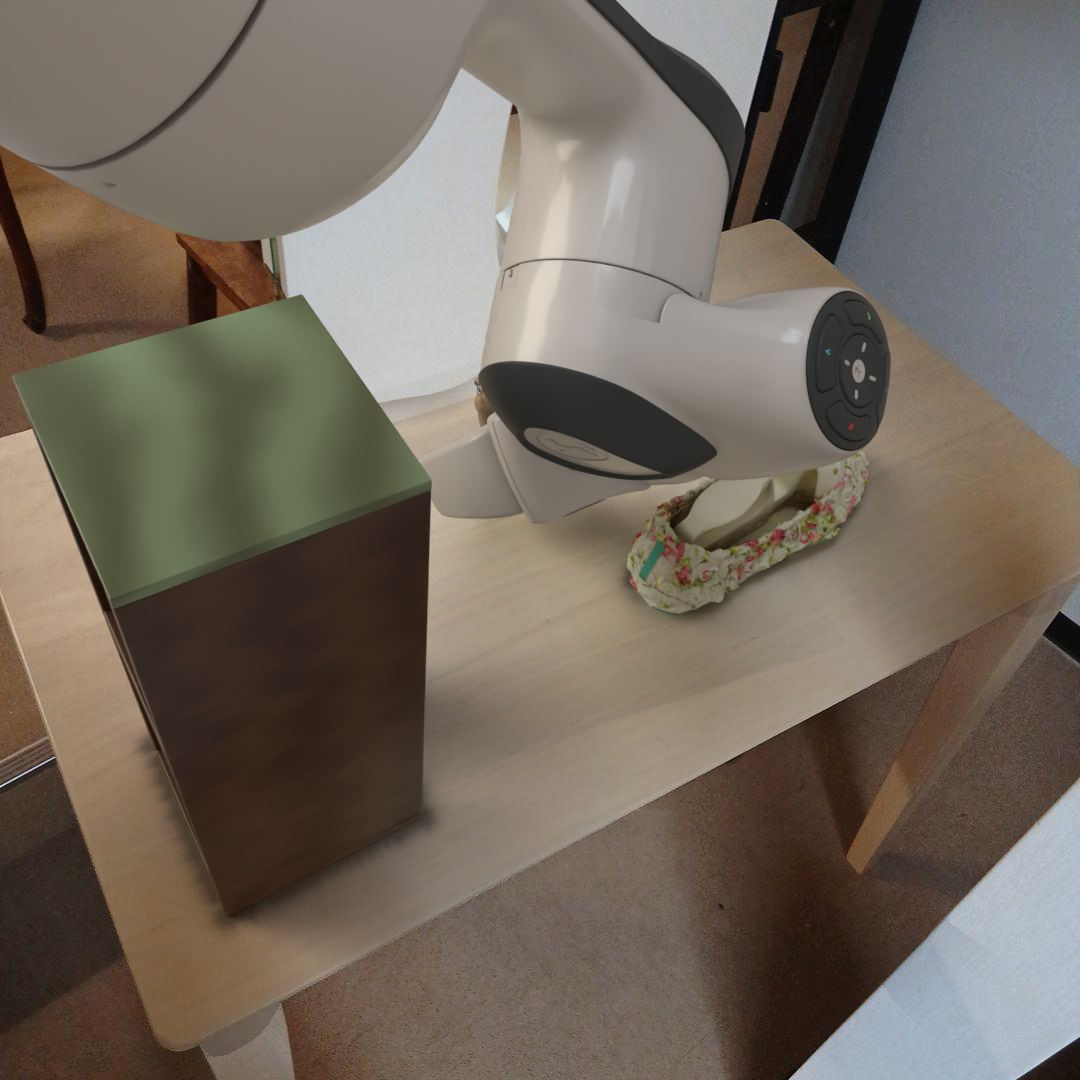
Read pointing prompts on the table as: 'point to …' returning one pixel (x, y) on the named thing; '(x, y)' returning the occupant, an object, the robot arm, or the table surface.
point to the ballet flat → (738, 531)
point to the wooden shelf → (253, 580)
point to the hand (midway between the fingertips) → (512, 428)
